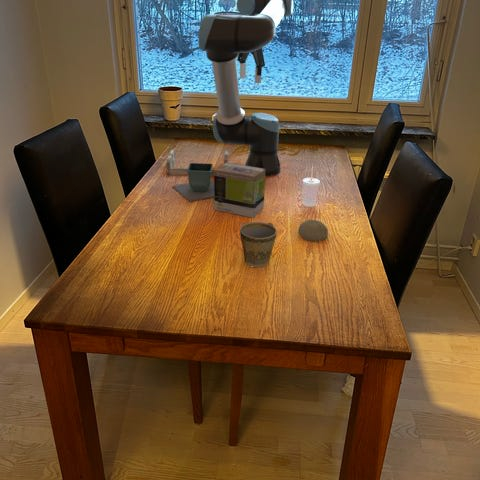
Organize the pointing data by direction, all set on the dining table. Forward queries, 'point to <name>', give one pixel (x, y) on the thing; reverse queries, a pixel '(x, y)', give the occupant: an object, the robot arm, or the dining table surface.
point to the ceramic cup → (257, 242)
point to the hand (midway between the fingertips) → (249, 80)
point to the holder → (183, 171)
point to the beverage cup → (310, 190)
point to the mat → (194, 192)
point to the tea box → (239, 189)
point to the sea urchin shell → (313, 230)
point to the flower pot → (199, 176)
